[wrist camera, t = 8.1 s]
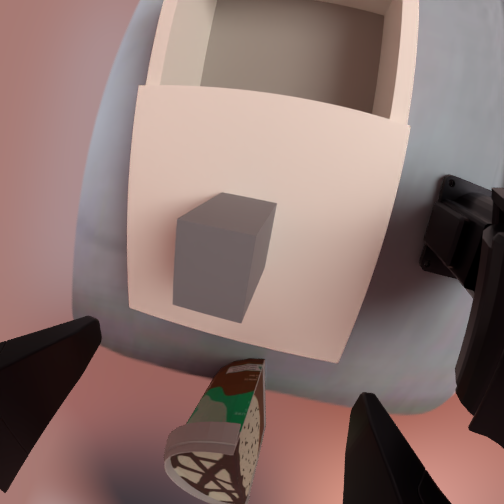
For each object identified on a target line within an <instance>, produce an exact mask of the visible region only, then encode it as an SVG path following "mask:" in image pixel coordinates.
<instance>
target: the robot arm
mask: <svg viewBox="0 0 504 504" xmlns="http://www.w3.org/2000/svg"><path fill="white" fill-rule="evenodd" d="M451 179H452V181H453V184H452V186H449V181H450V180H451ZM424 241H425V246H424V249H423V252H422V255H421V257H420V261H419V264H420V266H421V268H422V269H423V270H425V271H428V272H432V273H436V274H440V275H444V276H448V277H452V278H455V279H458V280H459V282H460V283H461V284H462V285H463V286H464V288H465V289H466V290H467V291H468V293H469V294H470V295H471V296H472V298H473V303H472V308H471V312H470V317H469V321H468V325H467V329H466V333H465V337H464V340H463V344H462V347H461V351H460V354H459V357H458V361H457V364H456V367H455V375H456V384H457V387H456V394H457V396H458V398H459V400H460V401H461V403H462V404H463V406H464V407H465V408H466V409H467V410H468V411H469V412H470V413H471V414H472V415H473V416H474V417H473V419H472V421H471V423H470V425H469V427H468V428H469V430H470V431H472V432H475V433H478V434H481V435H484V436H487V437H488V438H490V439H491V440H493V441H495V442H496V443H498V444H499V445H501V446H502V447H503V448H504V188H492V191H490V190H488V189H485V188H483V187H481V186H478V185H476V184H473V183H471V182H468V181H466V180H463V179H461V178H458V177H456V176H453V175H446V176H445V177H444V179H443V183H442V187H441V191H440V195H439V199H438V202H436V203H435V204H434V207H433V211H432V214H431V218H430V221H429V224H428V228H427V231H426V234H425V237H424ZM427 260H429V263H428V264H427V265H424V263H425V261H427ZM101 339H102V336H101V330H100V324H99V321H98V319H96V318H94V317H91V316H85V317H82V318H79V319H76V320H73V321H70V322H66V323H63V324H60V325H56V326H53V327H51V328H47V329H43V330H41V331H37V332H34V333H31V334H27V335H24V336H21V337H17V338H14V339H11V340H8V341H7V342H6V341H4V342H1V343H0V489H1V490H2V491H3V492H4V493H6V492H7V490H8V489H9V487H10V485H11V483H12V482H13V480H14V478H15V476H16V475H17V473H18V471H19V470H20V468H21V466H22V465H23V463H24V462H25V460H26V458H27V457H28V454H29V453H30V452H31V450H32V448H33V447H34V445H35V444H36V442H37V441H38V439H39V438H40V436H41V434H42V433H43V431H44V430H45V428H46V427H47V425H48V424H49V422H50V421H51V419H52V418H53V416H54V415H55V413H56V412H57V410H58V409H59V407H60V406H61V404H62V403H63V402H64V400H65V399H66V397H67V396H68V394H69V393H70V391H71V390H72V389H73V387H74V386H75V384H76V383H77V382H78V380H79V379H80V377H81V376H82V374H83V373H84V371H85V369H86V367H87V366H88V364H89V362H90V360H91V358H92V357H93V355H94V353H95V352H96V350H97V348H98V346H99V345H100V343H101ZM343 504H451V503H450V501H449V500H448V499H447V498H446V496H445V495H444V494H443V493H442V491H441V490H440V489H439V487H438V486H437V485H436V483H435V482H434V481H433V479H432V478H431V476H430V475H429V473H428V472H427V471H426V470H425V467H424V466H423V464H422V463H421V461H420V460H419V458H418V457H417V455H416V454H415V453H414V451H413V449H412V448H411V447H410V445H409V443H408V442H407V440H406V439H405V437H404V436H403V435H402V433H401V432H400V430H399V429H398V427H397V426H396V424H395V423H394V421H393V420H392V419H391V417H390V416H389V414H388V413H387V411H386V410H385V408H384V407H383V405H382V404H381V402H380V401H379V400H378V398H377V397H376V395H375V394H373V393H367V392H363V393H361V394H360V396H359V397H358V399H357V401H356V403H355V404H354V406H353V408H352V410H351V414H350V422H349V430H348V437H347V444H346V452H345V473H344V492H343Z"/></svg>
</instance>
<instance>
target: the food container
mask: <svg viewBox="0 0 504 504" xmlns="http://www.w3.org/2000/svg"><path fill="white" fill-rule="evenodd" d="M265 407H266V406H265V359H246V360H240V361H234V362H232V363H230V364H228V365H226V366H224V367H222V368H221V369H220V370H219V372H218V373H217V374H216V375H215V376H214V378H213V380H212V381H211V383H210V385H209V386H208V388H207V390H206V392H205V393H204V395H203V397H202V399H201V400H200V402H199V403H198V405H197V407H196V408H195V410H194V412H193V414H192V415H191V417H190V419H189V420H188V422H187V423H186V425H183V426H180V427H178V428H176V429H175V430H173V431H172V432H171V433H170V435H169V436H168V439H167V444H166V448H165V452H164V461H165V463H164V467H165V471H166V473H167V474H168V476H169V477H170V479H171V480H172V481H173V482H174V483H175V484H177V485H178V486H179V487H180V488H182V489H183V490H185V491H186V492H188V493H189V494H191V495H193V496H195V497H196V498H199V499H201V500H203V501H205V502H208V503H210V504H248V501H249V498H250V496H249V494H250V490H251V486H252V483H253V478H254V474H255V470H256V466H257V462H258V458H259V453H260V449H261V444H262V440H263V436H264V431H265V427H266V411H265V410H266V408H265Z"/></svg>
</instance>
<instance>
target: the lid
mask: <svg viewBox="0 0 504 504" xmlns="http://www.w3.org/2000/svg"><path fill="white" fill-rule="evenodd" d="M410 127H411V126H409V125H406V124H403V123H400V122H397V121H394V120H390V119H387V118H384V117H380V116H377V115H373V114H370V113H366V112H362V111H358V110H354V109H350V108H346V107H342V106H338V105H333V104H329V103H324V102H319V101H314V100H309V99H304V98H298V97H292V96H286V95H280V94H273V93H266V92H258V91H250V90H241V89H231V88H219V87H204V86H182V85H139V88H138V95H137V102H136V109H135V117H134V125H133V134H132V144H131V155H130V168H129V185H128V208H127V270H128V294H129V308H132V309H135V310H137V311H140V312H143V313H146V314H149V315H152V316H155V317H158V318H161V319H164V320H168V321H171V322H174V323H177V324H180V325H184V326H187V327H190V328H193V329H197V330H200V331H204V332H207V333H211V334H214V335H218V336H221V337H225V338H229V339H232V340H236V341H240V342H244V343H248V344H252V345H256V346H260V347H264V348H268V349H272V350H276V351H281V352H285V353H290V354H294V355H299V356H303V357H308V358H313V359H318V360H323V361H328V362H333V363H338V362H339V360H340V357H341V355H342V353H343V350H344V348H345V346H346V343H347V341H348V339H349V336H350V334H351V331H352V329H353V326H354V324H355V321H356V319H357V316H358V313H359V311H360V308H361V305H362V303H363V300H364V297H365V295H366V292H367V289H368V286H369V283H370V280H371V278H372V275H373V272H374V269H375V266H376V263H377V259H378V256H379V253H380V250H381V247H382V244H383V240H384V237H385V234H386V230H387V227H388V223H389V220H390V216H391V212H392V209H393V205H394V201H395V197H396V193H397V189H398V185H399V181H400V176H401V172H402V168H403V163H404V158H405V154H406V149H407V144H408V138H409V133H410Z"/></svg>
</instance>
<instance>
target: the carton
mask: <svg viewBox="0 0 504 504" xmlns="http://www.w3.org/2000/svg"><path fill="white" fill-rule="evenodd" d="M418 21H419V0H164V2H163V5H162V9H161V13H160V17H159V21H158V26H157V30H156V34H155V39H154V43H153V48H152V53H151V58H150V64H149V69H148V75H147V81H146V85H182V86H204V87H219V88H231V89H241V90H250V91H258V92H266V93H273V94H280V95H286V96H292V97H298V98H304V99H309V100H314V101H319V102H324V103H329V104H333V105H338V106H342V107H346V108H350V109H354V110H358V111H362V112H366V113H370V114H373V115H377V116H380V117H384V118H387V119H390V120H394V121H397V122H400V123H403V124H406V125H407V122H408V116H409V109H410V103H411V96H412V89H413V81H414V72H415V63H416V52H417V39H418Z"/></svg>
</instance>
